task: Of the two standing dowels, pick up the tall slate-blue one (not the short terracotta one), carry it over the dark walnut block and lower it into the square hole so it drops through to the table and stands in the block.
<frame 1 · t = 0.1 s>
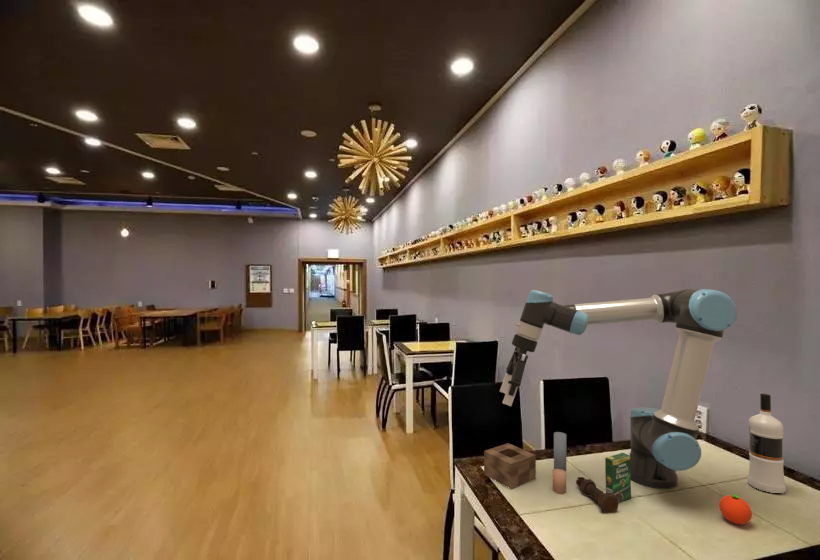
hand: (505, 398, 129), 28 cm above the table, tool tilted 20°, fingers open, 13 cm apart
long dowel: (560, 475, 134), on the table
bolt: (594, 500, 120), on the table
short dowel: (559, 490, 124), on the table
coffee box: (618, 500, 119), on the table
clementine: (735, 522, 108), on the table
vodka: (766, 488, 127), on the table
hole block: (509, 476, 133), on the table
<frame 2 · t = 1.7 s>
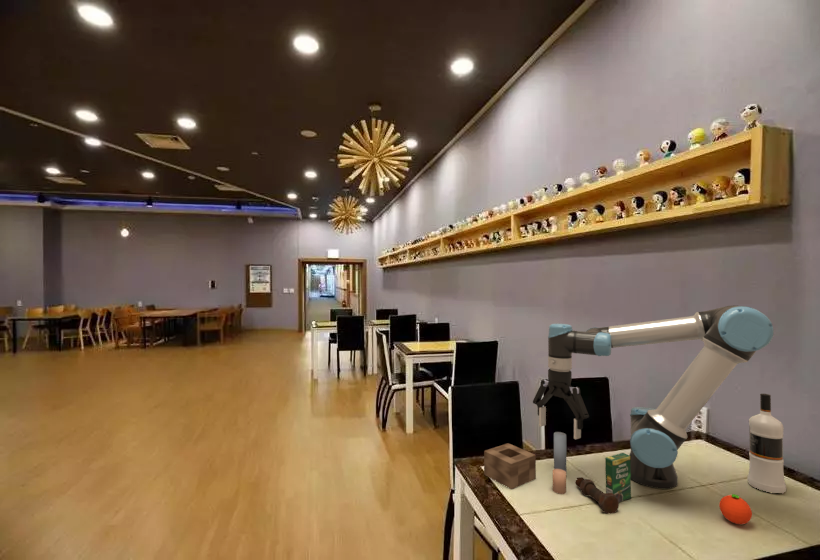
hand: (559, 431, 135), 15 cm above the table, tool pointing down, fingers open, 13 cm apart
nothing on the table moved.
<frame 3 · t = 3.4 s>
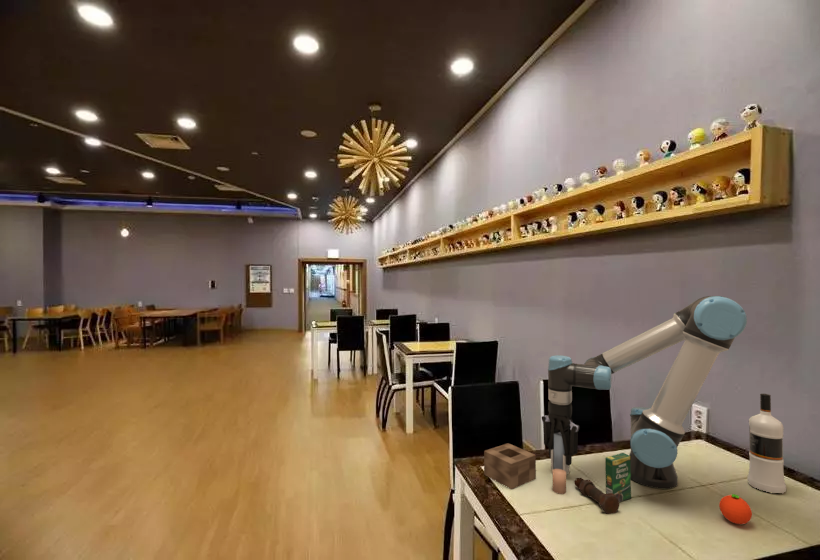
hand: (560, 470, 134), 2 cm above the table, tool pointing down, fingers closed on long dowel, 4 cm apart
long dowel: (560, 475, 134), on the table, touching gripper
everything else where it was.
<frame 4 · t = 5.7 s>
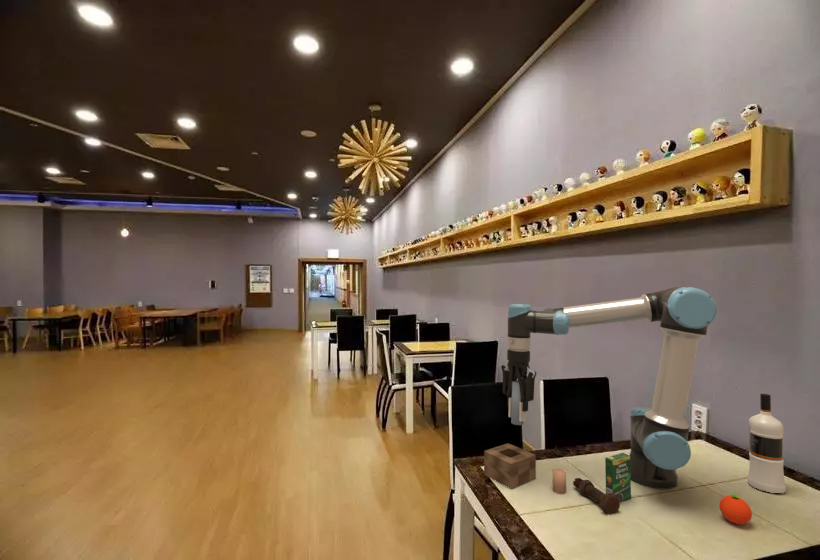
hand: (517, 418, 134), 19 cm above the table, tool pointing down, fingers closed on long dowel, 4 cm apart
long dowel: (517, 423, 134), point 18 cm above the table, touching gripper
everything else where it was.
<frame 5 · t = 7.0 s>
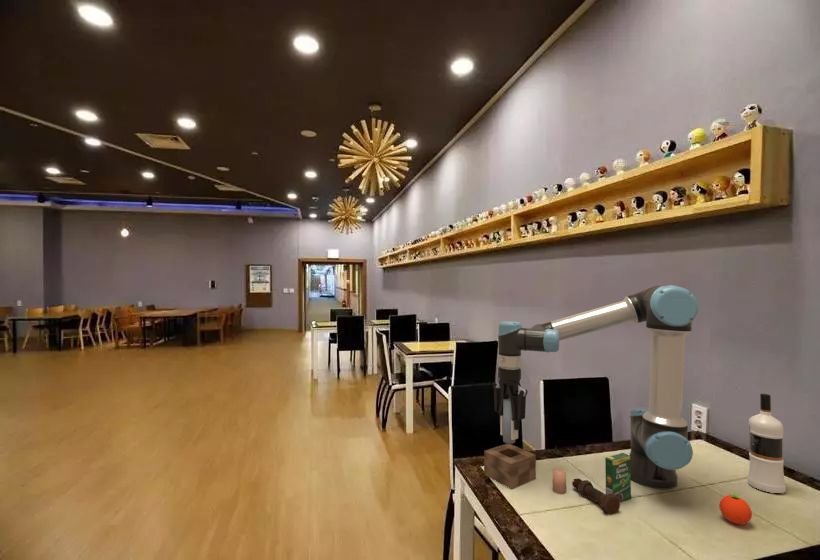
hand: (509, 436, 134), 14 cm above the table, tool pointing down, fingers closed on long dowel, 4 cm apart
long dowel: (509, 441, 134), point 12 cm above the table, touching gripper
when the fingers open (9 cm above the table, at t = 8.0 s): long dowel drops 6 cm, resting in hole block.
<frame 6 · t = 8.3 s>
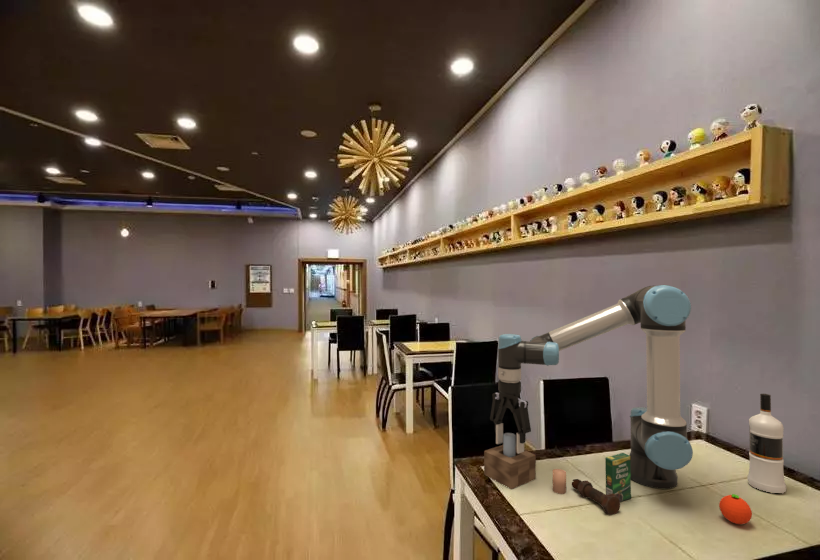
hand: (509, 447, 133), 10 cm above the table, tool pointing down, fingers open, 8 cm apart
long dowel: (509, 476, 133), resting in hole block
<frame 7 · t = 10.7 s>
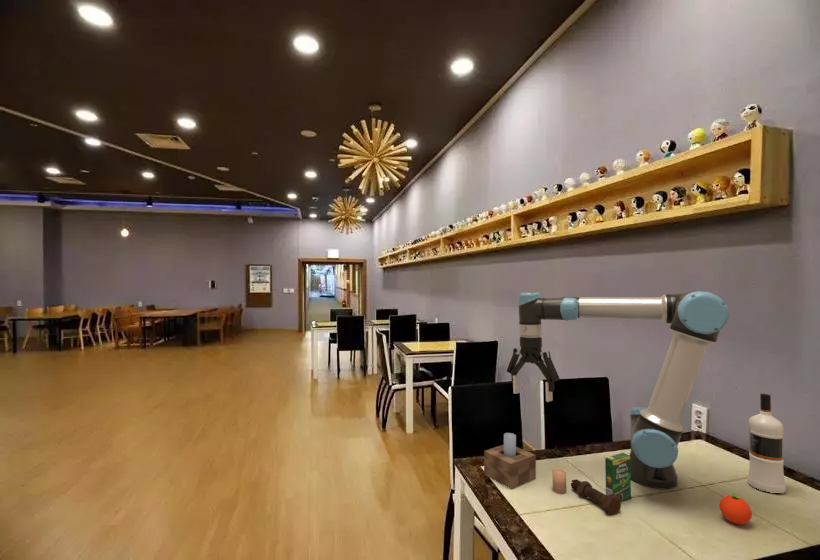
hand: (532, 396, 139), 25 cm above the table, tool pointing down, fingers open, 13 cm apart
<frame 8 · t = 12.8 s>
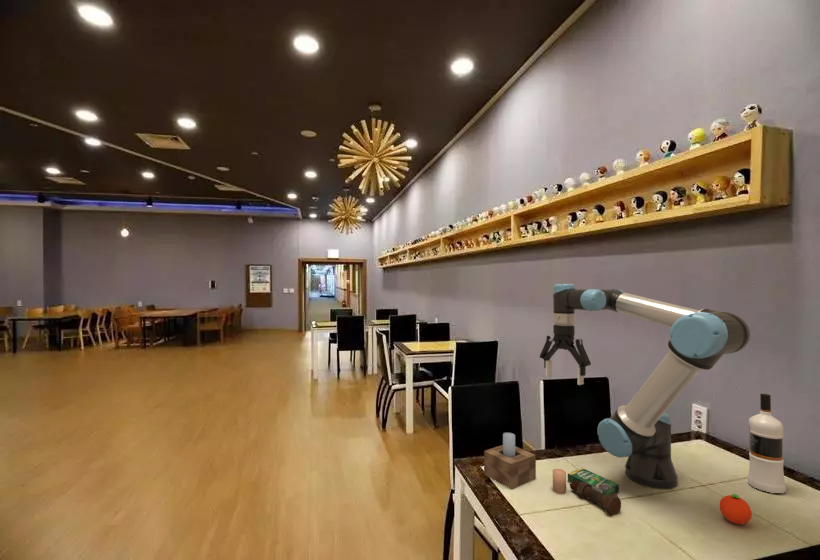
hand: (564, 380, 149), 29 cm above the table, tool pointing down, fingers open, 13 cm apart
coffee box: (612, 491, 121), point 1 cm above the table
at the end: long dowel 0.1 cm off-centre on the hole block, point 0.0 cm above the hole block's base; long dowel tilted 1°; short dowel moved 0.0 cm from its start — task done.
